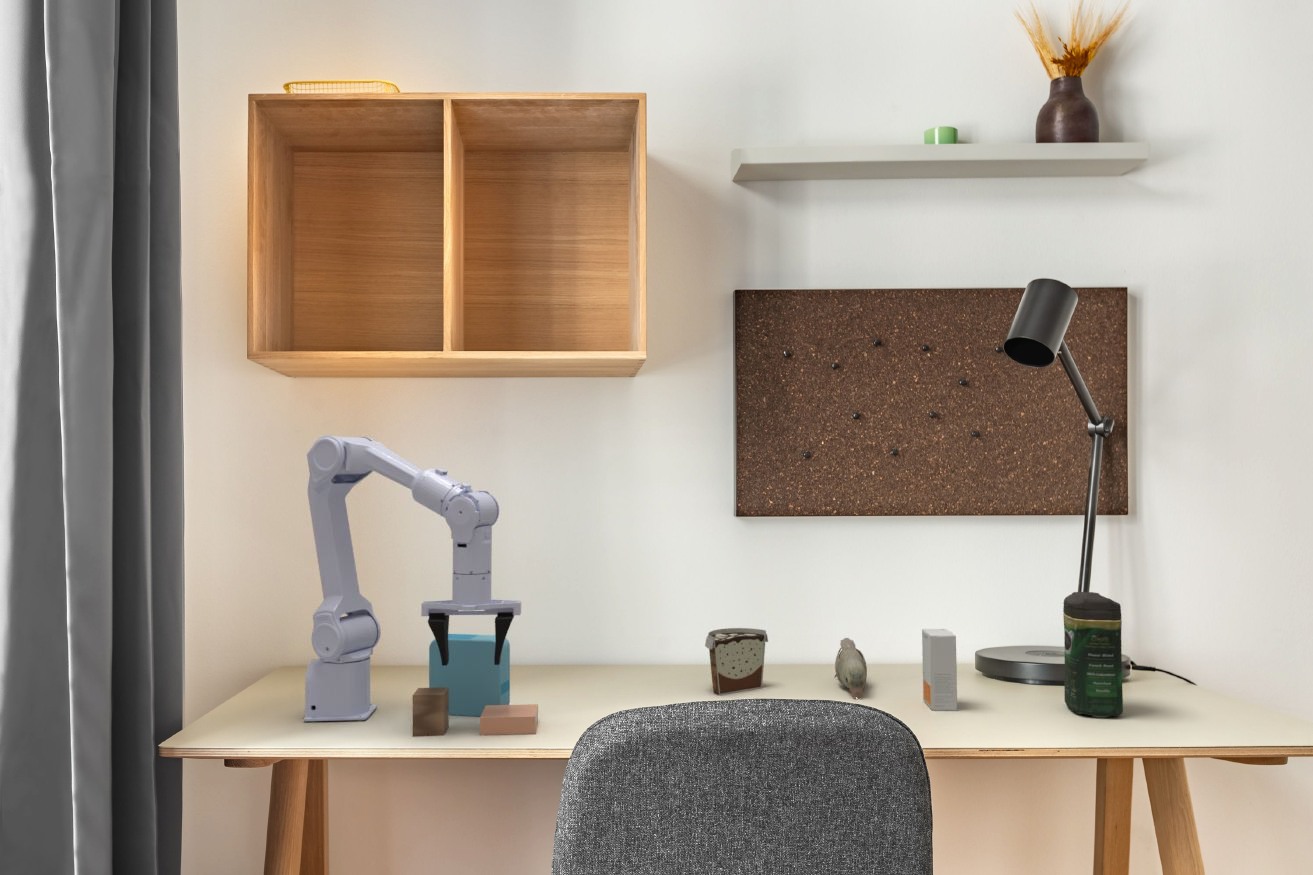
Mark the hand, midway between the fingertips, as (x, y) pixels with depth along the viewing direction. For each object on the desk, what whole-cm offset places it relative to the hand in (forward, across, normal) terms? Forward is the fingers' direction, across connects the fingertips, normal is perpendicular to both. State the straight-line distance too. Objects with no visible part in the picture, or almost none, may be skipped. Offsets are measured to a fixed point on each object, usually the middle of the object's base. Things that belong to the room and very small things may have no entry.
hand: (471, 663), depth 138 cm
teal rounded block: (+10, -1, +10) cm, 14 cm away
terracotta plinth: (+10, +6, +1) cm, 11 cm away
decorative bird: (+10, +64, +20) cm, 67 cm away
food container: (+10, +42, +22) cm, 49 cm away
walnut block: (+10, -6, 0) cm, 11 cm away
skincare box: (+10, +74, +7) cm, 75 cm away
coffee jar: (+9, +97, +1) cm, 98 cm away
